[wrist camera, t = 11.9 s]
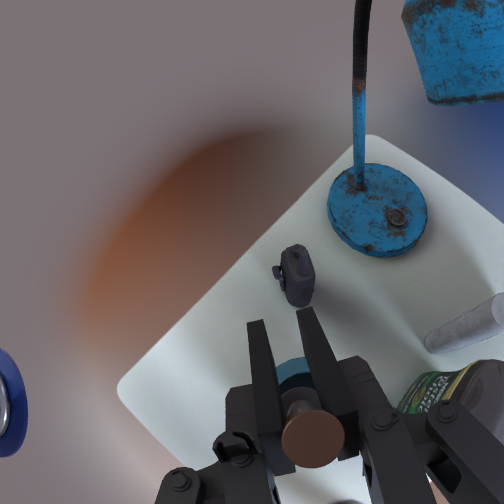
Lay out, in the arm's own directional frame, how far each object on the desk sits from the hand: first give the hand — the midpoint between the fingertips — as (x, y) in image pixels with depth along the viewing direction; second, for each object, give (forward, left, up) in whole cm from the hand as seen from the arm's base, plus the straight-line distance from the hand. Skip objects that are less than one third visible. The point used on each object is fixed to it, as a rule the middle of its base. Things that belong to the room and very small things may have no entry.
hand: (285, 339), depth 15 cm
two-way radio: (+8, +7, -28) cm, 30 cm away
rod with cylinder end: (-2, -3, -11) cm, 12 cm away
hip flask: (+21, -16, -28) cm, 38 cm away
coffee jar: (+8, -17, -28) cm, 34 cm away
